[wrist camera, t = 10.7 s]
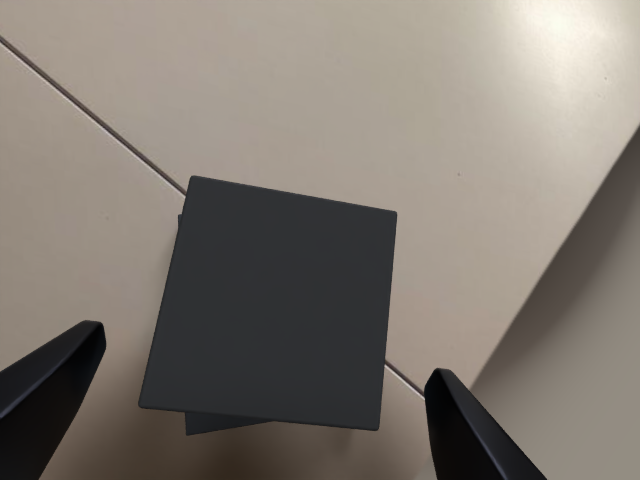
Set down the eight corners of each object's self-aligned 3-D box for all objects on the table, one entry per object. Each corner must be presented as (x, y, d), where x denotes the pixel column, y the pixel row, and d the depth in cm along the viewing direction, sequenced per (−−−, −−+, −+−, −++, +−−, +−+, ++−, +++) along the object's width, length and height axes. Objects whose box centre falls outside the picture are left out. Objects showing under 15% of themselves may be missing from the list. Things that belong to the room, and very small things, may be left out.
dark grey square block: (306, 358, 18) (380, 432, 7) (218, 347, 18) (135, 409, 6) (318, 273, 19) (398, 211, 8) (235, 260, 19) (189, 173, 7)
